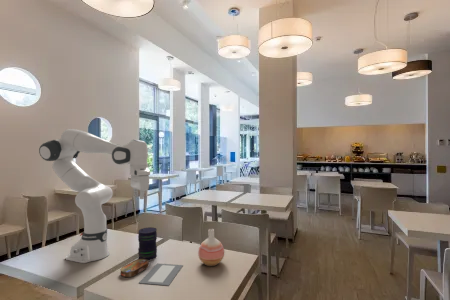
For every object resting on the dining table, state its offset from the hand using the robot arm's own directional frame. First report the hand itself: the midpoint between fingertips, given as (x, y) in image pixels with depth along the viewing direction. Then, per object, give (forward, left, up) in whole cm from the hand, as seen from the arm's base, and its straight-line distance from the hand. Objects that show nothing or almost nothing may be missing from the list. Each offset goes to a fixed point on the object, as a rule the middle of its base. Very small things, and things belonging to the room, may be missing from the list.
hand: (138, 197), depth 126 cm
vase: (+37, +7, -35) cm, 51 cm away
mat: (+16, -7, -35) cm, 39 cm away
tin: (+5, -7, -34) cm, 35 cm away
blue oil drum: (0, +10, -35) cm, 37 cm away
